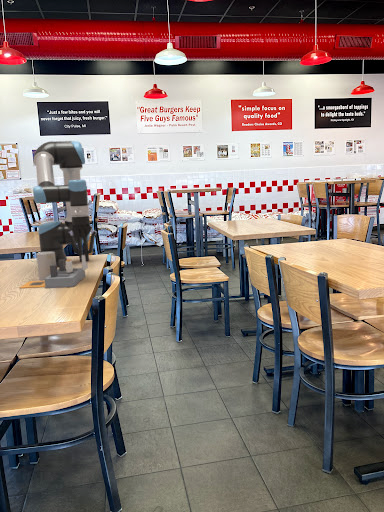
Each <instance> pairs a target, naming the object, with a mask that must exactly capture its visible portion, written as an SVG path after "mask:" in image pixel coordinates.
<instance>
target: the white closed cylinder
mask: <svg viewBox="0 0 384 512" xmlns="http://www.w3.org/2000/svg"><path fill="white" fill-rule="evenodd" d="M35 255H36V265H37V272H38V273H37V274H38V281H45V280H44V279H45V278H46V277H48V276H49V275H51V272H50V265H52V264H56V259H55V252H41V251H40V252H37V253H35Z"/></svg>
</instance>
